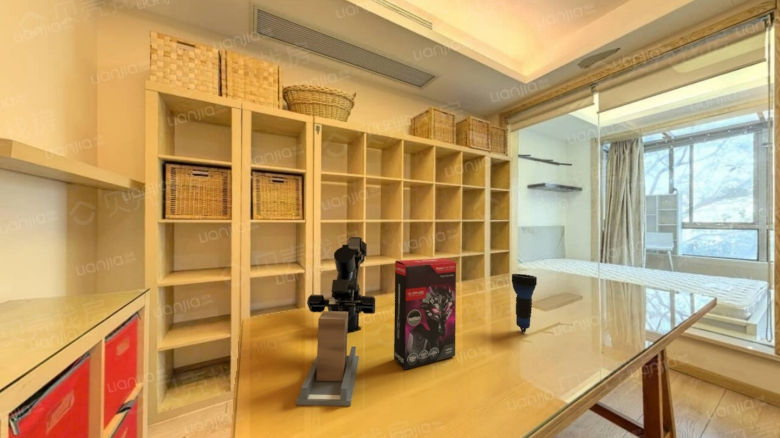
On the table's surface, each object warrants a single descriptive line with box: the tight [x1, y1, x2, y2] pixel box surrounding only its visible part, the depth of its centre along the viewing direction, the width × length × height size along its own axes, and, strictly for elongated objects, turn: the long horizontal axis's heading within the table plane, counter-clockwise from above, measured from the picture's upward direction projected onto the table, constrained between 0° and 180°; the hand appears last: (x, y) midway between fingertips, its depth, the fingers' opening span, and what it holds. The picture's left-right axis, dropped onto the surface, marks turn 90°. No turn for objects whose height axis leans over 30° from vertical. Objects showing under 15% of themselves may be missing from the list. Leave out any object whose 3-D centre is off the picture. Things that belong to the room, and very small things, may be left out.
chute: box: [295, 345, 360, 407], centre depth 63 cm, size 18×11×4 cm, turn 1°
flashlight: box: [511, 273, 538, 334], centre depth 94 cm, size 8×8×20 cm
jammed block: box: [316, 310, 348, 381], centre depth 62 cm, size 5×6×14 cm
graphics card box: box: [393, 257, 457, 370], centre depth 74 cm, size 17×7×27 cm, turn 117°
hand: (338, 334), depth 70 cm, fingers closed
